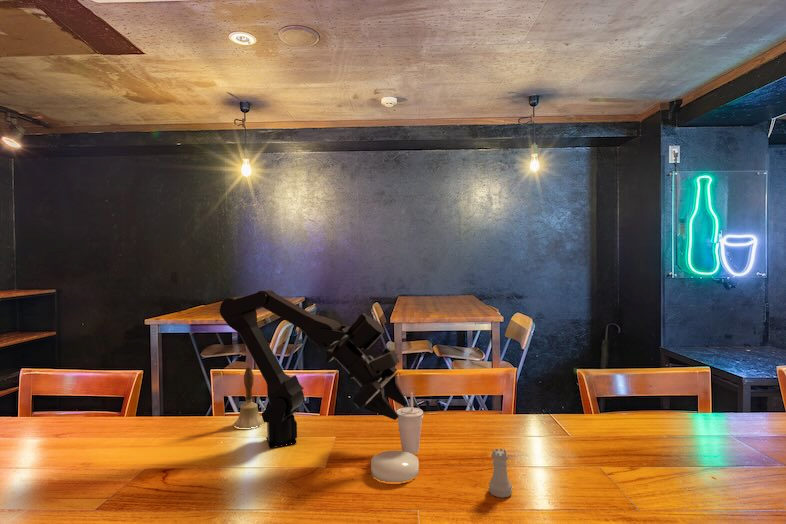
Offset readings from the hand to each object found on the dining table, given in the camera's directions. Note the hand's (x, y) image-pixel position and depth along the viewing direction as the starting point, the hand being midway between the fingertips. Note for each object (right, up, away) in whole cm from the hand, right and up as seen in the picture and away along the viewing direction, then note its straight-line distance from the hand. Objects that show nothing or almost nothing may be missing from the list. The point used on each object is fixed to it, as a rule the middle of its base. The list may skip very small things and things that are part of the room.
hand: (401, 411), depth 104 cm
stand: (-2, -10, -10) cm, 14 cm away
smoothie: (+2, -10, 0) cm, 10 cm away
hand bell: (-42, -10, +20) cm, 47 cm away
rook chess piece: (+18, -10, -18) cm, 28 cm away
